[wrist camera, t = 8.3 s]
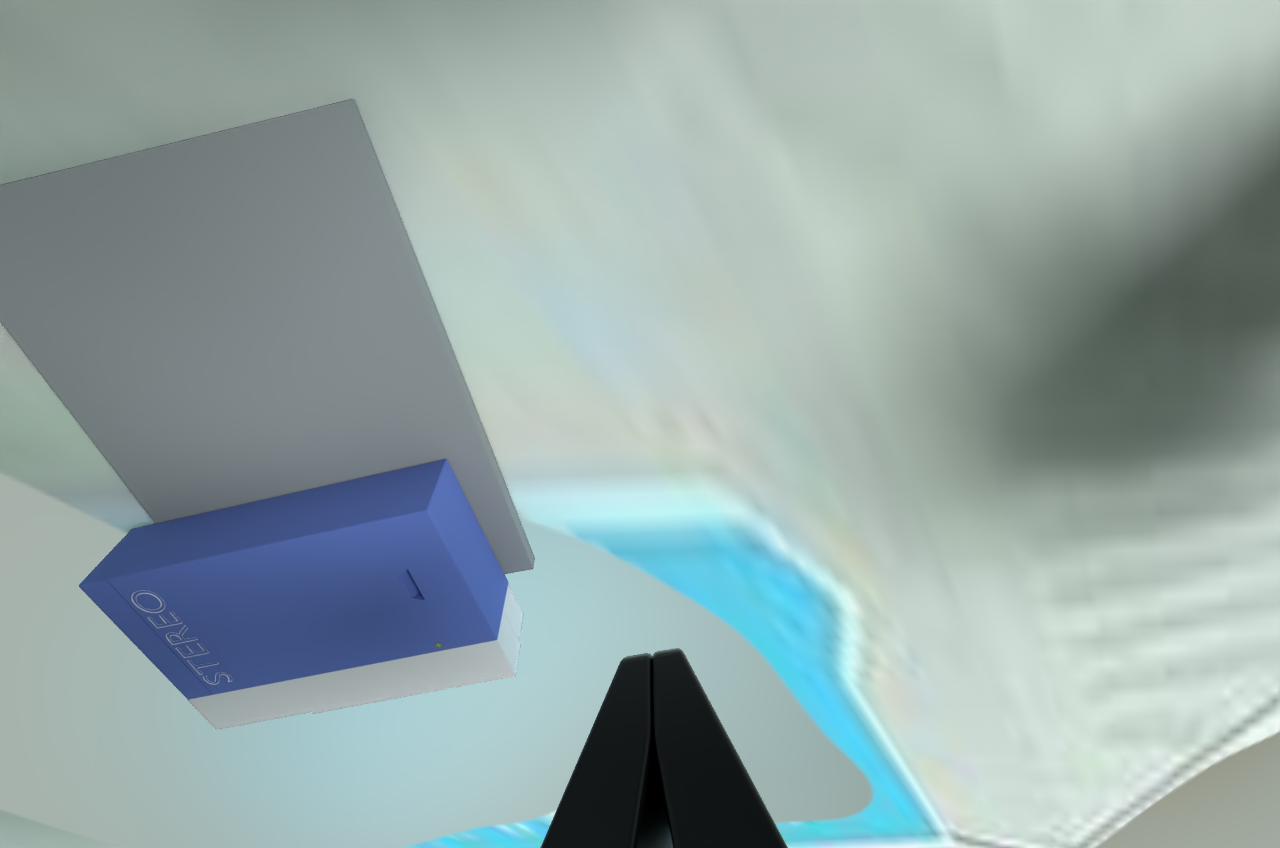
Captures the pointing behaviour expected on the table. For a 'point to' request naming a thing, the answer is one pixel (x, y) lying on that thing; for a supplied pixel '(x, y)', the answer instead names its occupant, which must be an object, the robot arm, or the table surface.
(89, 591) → the walkman
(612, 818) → the robot arm
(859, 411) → the table surface
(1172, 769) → the table surface
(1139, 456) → the table surface
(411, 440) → the mat
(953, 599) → the table surface
